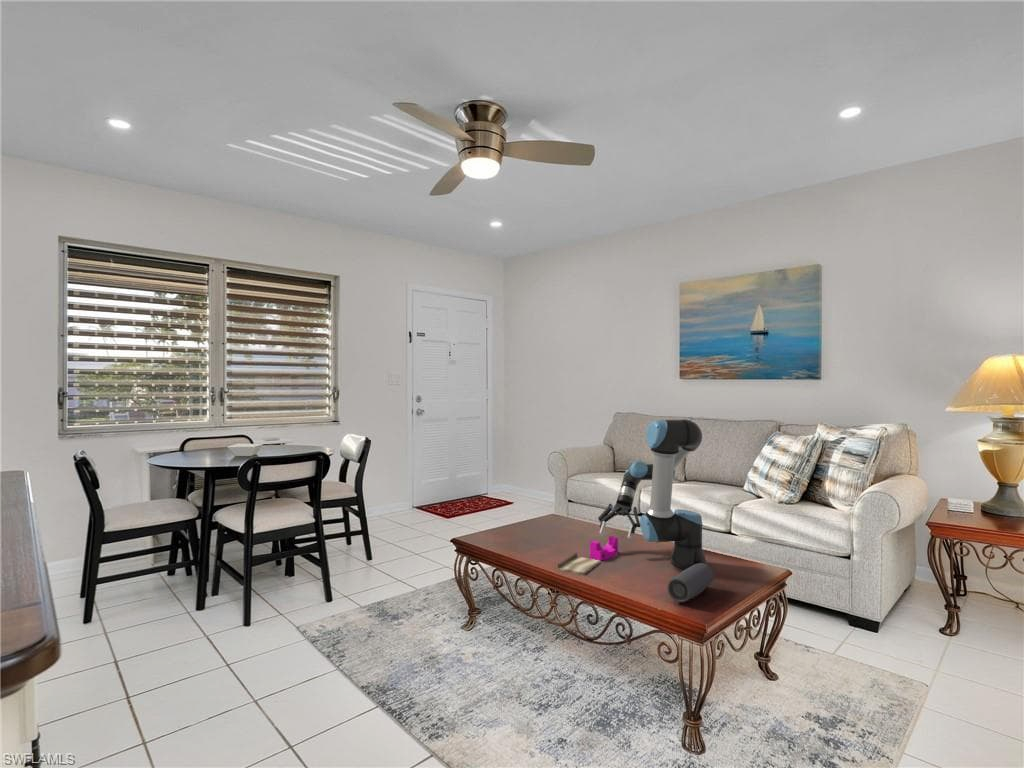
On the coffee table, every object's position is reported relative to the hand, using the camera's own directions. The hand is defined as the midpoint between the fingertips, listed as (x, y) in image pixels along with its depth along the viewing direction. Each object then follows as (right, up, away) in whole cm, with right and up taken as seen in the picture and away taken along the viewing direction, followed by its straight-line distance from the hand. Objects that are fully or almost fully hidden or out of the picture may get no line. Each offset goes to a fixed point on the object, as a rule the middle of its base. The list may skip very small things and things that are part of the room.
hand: (614, 536), depth 250 cm
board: (-18, -9, -15) cm, 25 cm away
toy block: (-4, -9, -1) cm, 10 cm away
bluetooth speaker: (+20, -9, -48) cm, 52 cm away
